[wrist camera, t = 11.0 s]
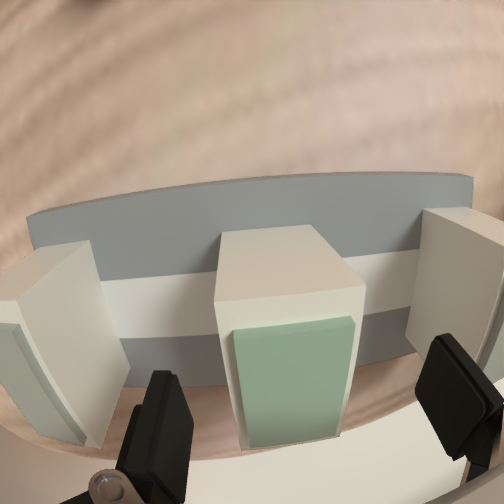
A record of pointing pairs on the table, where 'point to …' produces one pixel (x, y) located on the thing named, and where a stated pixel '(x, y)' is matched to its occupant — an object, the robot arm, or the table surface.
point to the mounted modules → (115, 361)
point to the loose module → (287, 333)
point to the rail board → (243, 218)
